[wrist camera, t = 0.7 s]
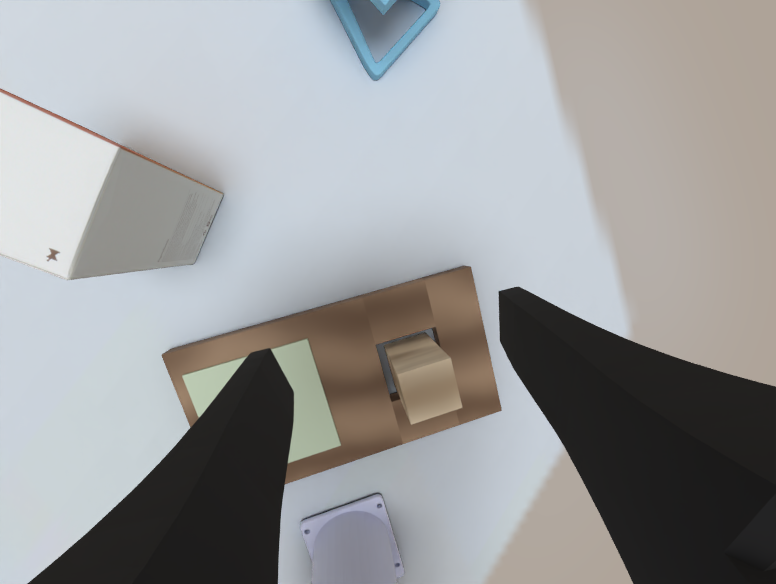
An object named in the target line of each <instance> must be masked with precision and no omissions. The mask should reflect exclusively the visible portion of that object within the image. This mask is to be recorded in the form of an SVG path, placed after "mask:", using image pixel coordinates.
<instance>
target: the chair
mask: <svg viewBox="0 0 776 584" xmlns="http://www.w3.org/2000/svg"><path fill="white" fill-rule="evenodd" d="M330 1H331V3H332V5H333V6H334V8H335V10H336V12H337V14H338V16H339V18H340V20H341V22H342V24H343V26H344V28H345V30H346V32H347V34H348V36H349V38H350V40H351V42H352V44H353V46H354V48H355V50H356V52H357V54H358V56H359V58H360V60H361V62H362V64H363V66H364V68H365V69H366V71H367V73H368V74H369V75H370V77H371V78H372V79H373V80H378V79H379V78H380V77H381V76H382V75H383V74H384V73H385V72H386V70H387V69H388V68H389V67H390V66H391V65H392V64H393V63H394V61H395V60H396V59H397V58H398V57H399V56H400V55H401V53H402V52H403V51H404V50H405V49H406V48H407V47H408V45H409V44H410V43H411V42H412V41H413V40H414V39H415V38H416V36H417V35H418V34H419V33H420V32H421V31H422V30H423V28H424V27H425V26H426V25H427V24H428V23H429V22H430V21H431V19H432V18H433V17H434V16H435V15H436V13H437V11H438V9H439V7H440V1H439V0H411V1H413V2H415V3H417V4H419V5H420V6H422V7H424V8H425V9H426V11H425V12H424V13H423V14H422V16H421V17H420V18H419V19H418V20H417V21H416V22H415V23H414V24H413V25H412V26H411V28H410V29H409V30H408V31H407V32H406V33H405V34H404V35H403V36H402V37H401V39H400V40H399V41H398V42H397V43H396V44H395V45H394V46H393V47H392V48H391V49H390V51H389V52H388V53H387V54H386V55H385V56H384V57H383V58H382V59H381V60H380V62H378V63H376V62H375V61H374V59H373V57H372V55H371V53H370V50H369V48H368V46H367V44H366V41H365V39H364V37H363V34H362V32H361V30H360V28H359V25H358V23H357V21H356V18H355V16H354V14H353V12H352V9H351V7H350V5H349V3H348V0H330ZM370 1H371V2H372V3H373V5H374V6H375V7H376V8H377V9H378V10H379V11H380V12H381V13H382V14H383V15H384V14H385V13H386V12H387V11H388V10H389V9H390V7H391V6H392V5H393V4H394V3H395V2H396V1H397V0H370Z"/></svg>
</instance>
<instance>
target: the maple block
mask: <svg viewBox="0 0 776 584" xmlns="http://www.w3.org/2000/svg"><path fill="white" fill-rule="evenodd" d="M384 348H385V352H386V356H387V359H388V363H389V367H390V370H391V374H392V378H393V381H394V385H395V387H396V390H397V392H398V394H399V397H400V399H401V402H402V404H403V407H404V409H405V411H406V414H407V416H408V419H409V421H410V423H411V425H412V424H415V423H418V422H421V421H424V420H427V419H430V418H433V417H436V416H439V415H442V414H445V413H448V412H451V411H454V410H457V409H460V408H463V407H462V403H461V399H460V395H459V391H458V386H457V382H456V378H455V374H454V369H453V365H452V361H451V358H450V357H449V356H448V355H447V354H446V353H445V352H444V351H443V350H442V349H441V348H440V347H439V346H438V345H437V344H436V343H435V342H434V341H433V340H432V339H431V338H430V337H429V336H428V335H427V334H426V333H421V334H418V335H415V336H412V337H408V338H405V339H402V340H398V341H395V342H392V343H388V344H385V345H384Z"/></svg>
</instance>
